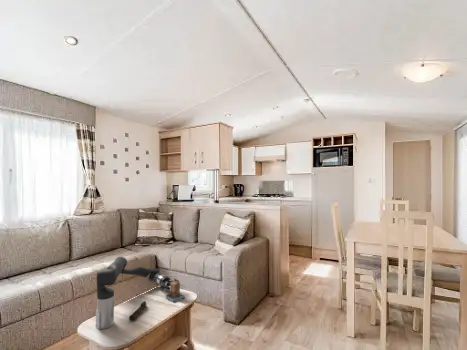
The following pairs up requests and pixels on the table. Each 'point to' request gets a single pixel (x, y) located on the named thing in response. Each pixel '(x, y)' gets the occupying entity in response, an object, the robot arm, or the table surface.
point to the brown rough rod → (137, 311)
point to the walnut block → (174, 289)
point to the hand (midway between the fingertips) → (174, 286)
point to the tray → (175, 298)
